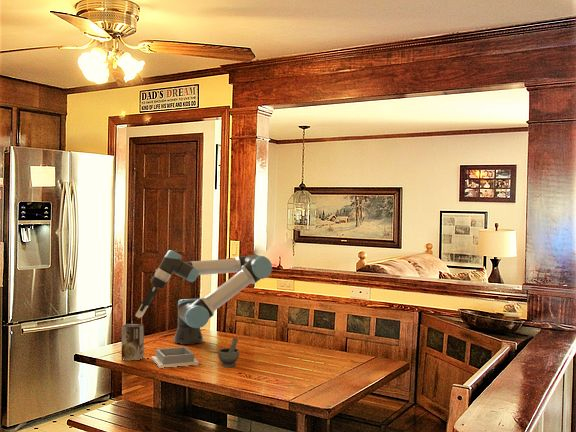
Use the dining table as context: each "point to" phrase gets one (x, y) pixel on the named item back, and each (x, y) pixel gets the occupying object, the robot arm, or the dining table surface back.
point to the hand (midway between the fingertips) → (138, 316)
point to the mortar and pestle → (229, 354)
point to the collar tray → (174, 357)
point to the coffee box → (132, 341)
